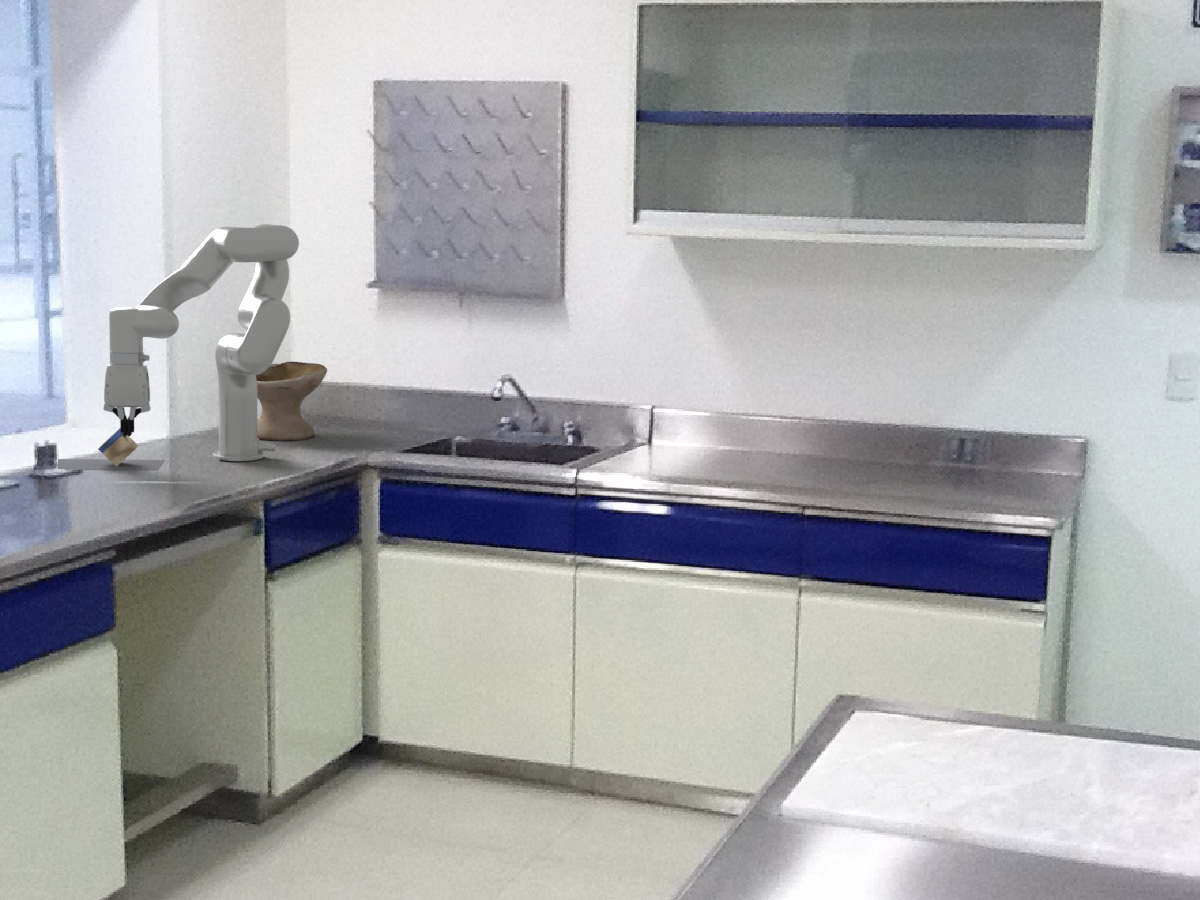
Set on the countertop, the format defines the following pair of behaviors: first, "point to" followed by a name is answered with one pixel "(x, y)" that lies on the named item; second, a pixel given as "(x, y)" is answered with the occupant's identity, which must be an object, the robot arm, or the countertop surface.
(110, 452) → the cube
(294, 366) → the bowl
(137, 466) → the mat
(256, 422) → the robot arm
